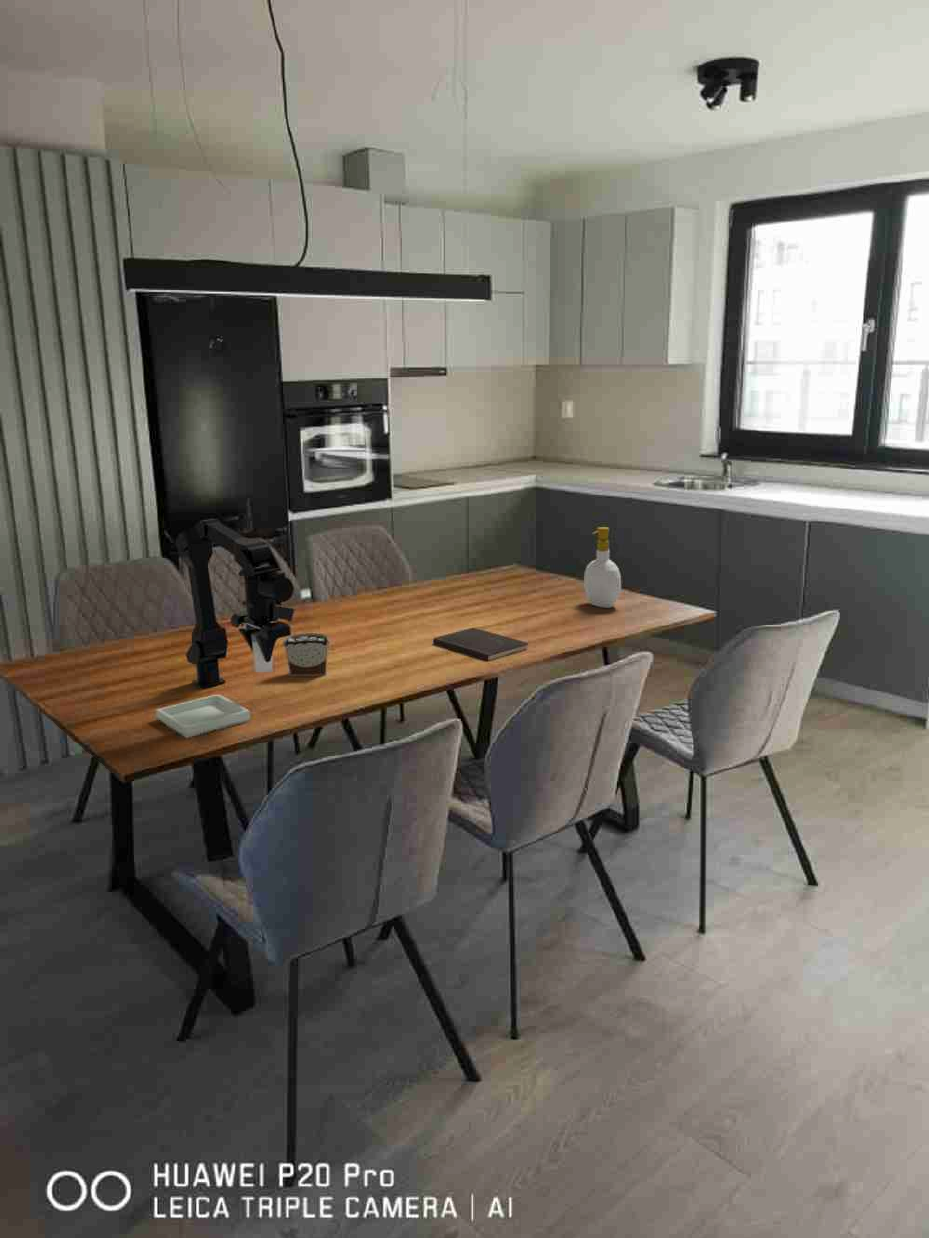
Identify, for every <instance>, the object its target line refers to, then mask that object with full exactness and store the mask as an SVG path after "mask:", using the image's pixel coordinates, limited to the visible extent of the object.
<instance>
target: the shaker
mask: <svg viewBox="0 0 929 1238" xmlns="http://www.w3.org/2000/svg"><path fill="white" fill-rule="evenodd" d="M260 635H261V634H260V631H257V632H253V633H252V634H251V639H252V646H253V652H252V656H253V666H254V672H255V673H261V674H262V673H269V672H272V671H273V670H274V662H273V661H274V657H273V656H272V657H271V661H270V662H266V661H265V659H264V657H263V654H262V652H261V649H260V647H259V644H258V642H257V639H256V636H260Z"/></svg>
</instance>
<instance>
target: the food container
mask: <svg viewBox="0 0 929 1238" xmlns="http://www.w3.org/2000/svg"><path fill="white" fill-rule="evenodd" d="M328 646H329V647H330V646H331V643H330V640H329V638H328V635H325V634H323V633H317V632H305V633H302V632H301V633H296V634H291V635H290V636H285V638H284V640H283V642H282V648H285V653H286V655H285V656H286V659H287V660H286V661H287V666H288V671H289V675H290V676H291V677H295V676H296V677H298V676H299V677H300V676H302V677H303V676H304V677H305V676H326V675H327V664H328V663H327V662H328Z"/></svg>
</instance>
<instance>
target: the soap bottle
mask: <svg viewBox="0 0 929 1238" xmlns="http://www.w3.org/2000/svg"><path fill="white" fill-rule="evenodd" d="M609 532H610V527H607V526H600V527H597V530H595V531H594V532H592V535H596V534H598V539H599V540H597V549H596V559H594V560H592V561H590V562H589V564H587V565H586V568H585V571H584V576H583V577H584V578H583V582H584V583H583V584H584V591H585V594H586V598H587V601H588V603H589V604H590V605H592V606H594V607H598V608H603V609H611V608H613V607H615V606H616V605H617V602H618V600H619V598H620V595H621V588H622V578H621V577H622V575H621V573H620V569H619V567H618V566H617V565H616V563H615V562H613V560H611V559H610V548H609V546H610V545H609V543H610V542H609V539H608V538H609ZM607 539H608V540H607Z"/></svg>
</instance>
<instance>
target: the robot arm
mask: <svg viewBox="0 0 929 1238" xmlns="http://www.w3.org/2000/svg"><path fill="white" fill-rule="evenodd" d="M214 544H215V545H217V546H219V547H220V548H222V549H224V550H225V551H227V552H228V553H230V554H231V555H233V560H234V562H235V563H236V564H237V565H239V567H240V568H241V570H240V571H239V572H238V576H241V577H243V582H244V583H243V584H244V596H245V599H243V600H241V601H242V605H243V606H245V607H246V608H245V609H246V611H242V612H236V613H234V614H232V616H231V617H230V625H231V626H232V627H235V628H238V632H239V633H240V634H241V635H242V637H243V639H244V640H245V641H246V643H247V645H248V646H249V648H250V650H251V651H252V653H253V646H252V639H251V634H252V633H253V632H257V631H260V634H261V635H260V636H256V639H257V642H258V644H259V647H260V649H261V652H262V654H263V657H264V659H265V661H266V662H270V661H271V657H272V658H273V652H274V649H275V645H276V643H277V640H278V639H280V638H284V637H285V638H286V637H289V636H291V635H292V628H291V626H290V625H289V624H288V623H285V622H284V621H280V620H285V621H287V622H293V618H294V612H295V608H293V607H289V606H288V605H282V603H285V602H288V601H289V600H290V599H291V597H292V596H293V594H294V589H295V588H294V587H295V586H294V585H293V582H292V580H291V579H289V577H286V572H285V571H282V568H281V565H280V562H279V561H278V559H277V557H276V556H275V554H274V552H273V550H272V548H271V547H270V545H269V543H267V542H266V541H264V540H261V539H257V538H248V537H246V536H243V535H242V534H240V533H239V532H237V531H235V530H233V529H231V528H230V527H229V526H227V525H225V524H223V523H222V522H221V520H220V519H217V518H209V519H203V520H200V521H198V522H197V523H196V524H195V525H193V526H192V527H190V528H188V529H186V530H185V531H182V532H179V534H178V536H177V537H176V539H175V546H176V548H177V552H178V555H179V556H178V557H179V558H180V559H181V562H183V564H185V565H186V567H187V570H188V576H189V577H188V578H189V583H190V591H191V596H192V604H193V612H194V616H195V625H194V628H193V630H192V633H191V645H190V647H189V648H188V650H187V652H186V653H185V657H186V660H187V662H188V663H190V664H193V665H195V672H196V679H192V680H191V681H192V682H191V683H193V684H194V685H197V686H198V687H200V688H202V689H205V688H208V687H213V686H216V685H221V684H225V683H226V682H227V681H226V680H225V679H224V678H221V676H220V674H221V673H220V663H219V660H221V659H226V658H227V653H228V652H227V651H228V643H229V641H228V638H227V629H226V628H225V627H224V626H221V625H220V624H219V622H218V621H217V617H216V610H215V603H214V597H213V589H212V582H211V575H210V570H209V563H210V561H211V559H212V556H213V554H214V553H213V552H214V551H213V550H214V549H213V545H214ZM240 625H241V626H240ZM239 627H241V628H239Z"/></svg>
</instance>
